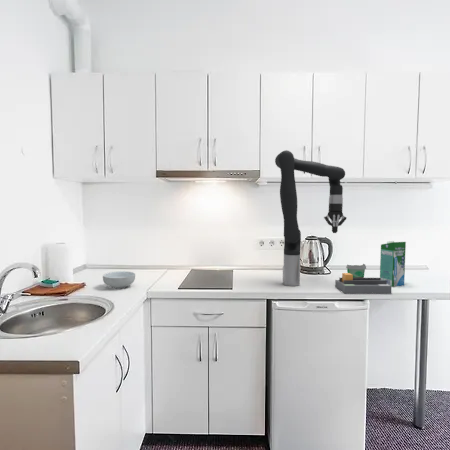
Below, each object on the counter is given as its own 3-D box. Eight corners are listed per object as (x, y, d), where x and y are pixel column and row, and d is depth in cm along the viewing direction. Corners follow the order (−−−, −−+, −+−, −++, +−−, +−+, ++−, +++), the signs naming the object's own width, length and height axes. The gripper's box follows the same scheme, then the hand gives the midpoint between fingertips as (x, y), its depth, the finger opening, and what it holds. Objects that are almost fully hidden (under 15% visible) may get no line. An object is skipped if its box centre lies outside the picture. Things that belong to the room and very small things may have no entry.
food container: (352, 283, 191) (352, 266, 190) (345, 281, 197) (346, 264, 196) (370, 282, 194) (370, 265, 194) (363, 280, 200) (363, 263, 199)
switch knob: (345, 283, 173) (345, 274, 173) (342, 281, 177) (342, 273, 177) (352, 283, 173) (352, 274, 173) (349, 281, 177) (349, 273, 177)
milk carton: (391, 281, 195) (392, 239, 194) (404, 285, 187) (405, 241, 186) (379, 283, 192) (380, 240, 191) (392, 286, 184) (393, 242, 182)
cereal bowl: (101, 291, 170) (101, 278, 170) (104, 284, 186) (103, 272, 186) (135, 289, 175) (135, 276, 175) (135, 282, 191) (135, 270, 191)
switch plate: (344, 293, 168) (344, 282, 168) (335, 287, 182) (335, 276, 182) (391, 293, 168) (391, 282, 168) (378, 287, 182) (378, 276, 182)
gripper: (326, 202, 186) (325, 233, 187) (349, 203, 185) (348, 233, 186) (322, 202, 193) (321, 232, 194) (344, 203, 193) (343, 232, 194)
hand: (334, 232), depth 190 cm, fingers closed
